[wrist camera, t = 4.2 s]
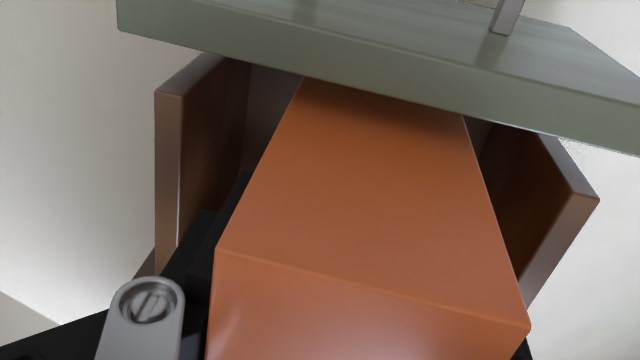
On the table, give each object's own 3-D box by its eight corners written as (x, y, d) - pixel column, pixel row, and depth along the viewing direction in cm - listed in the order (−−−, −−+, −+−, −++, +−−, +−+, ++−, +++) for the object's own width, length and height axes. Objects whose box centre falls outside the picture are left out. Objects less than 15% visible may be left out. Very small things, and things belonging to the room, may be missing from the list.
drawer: (243, -196, 15) (99, -291, 8) (635, -102, 15) (875, -106, 8) (208, 241, 26) (133, 379, 18) (435, 297, 26) (453, 459, 18)
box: (298, 161, 21) (195, 445, 10) (323, 34, 18) (213, 248, 7) (401, 187, 21) (412, 499, 10) (446, 64, 18) (535, 328, 7)
